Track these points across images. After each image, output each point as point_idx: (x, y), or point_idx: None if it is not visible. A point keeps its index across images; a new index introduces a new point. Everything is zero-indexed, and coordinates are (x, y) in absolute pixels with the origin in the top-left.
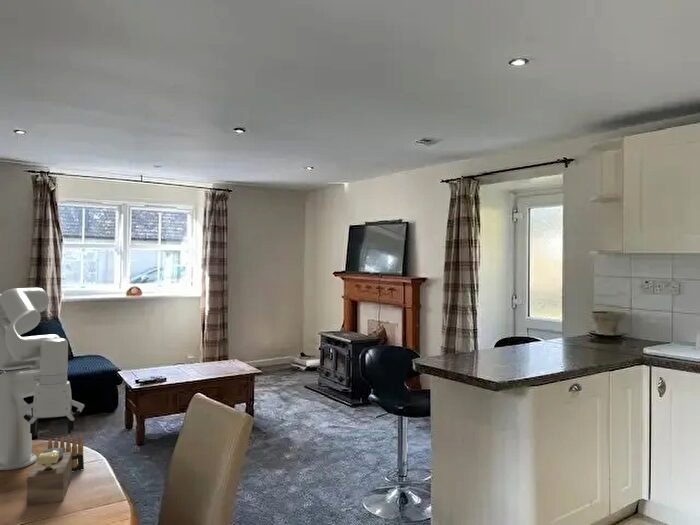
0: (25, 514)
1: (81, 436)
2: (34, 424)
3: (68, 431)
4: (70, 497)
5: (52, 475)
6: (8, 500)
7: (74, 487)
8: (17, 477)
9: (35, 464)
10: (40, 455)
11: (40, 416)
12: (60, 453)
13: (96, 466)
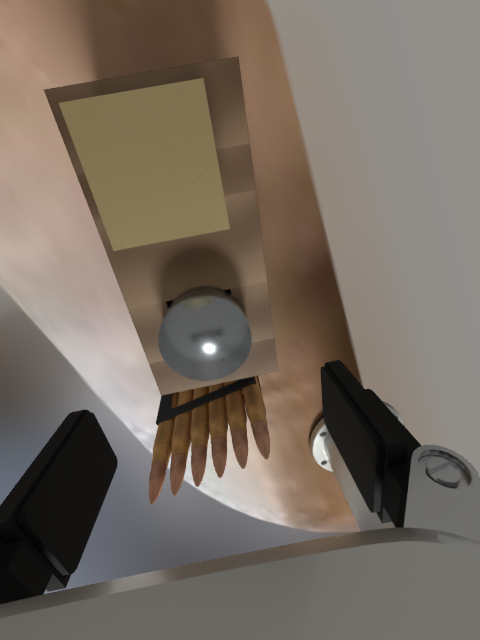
0: (202, 15)
1: (149, 487)
2: (381, 444)
3: (78, 423)
4: None
5: (106, 82)
6: (306, 187)
7: None
8: (326, 356)
9: (261, 269)
10: (210, 178)
11: (378, 568)
12: (162, 323)
13: (134, 405)
